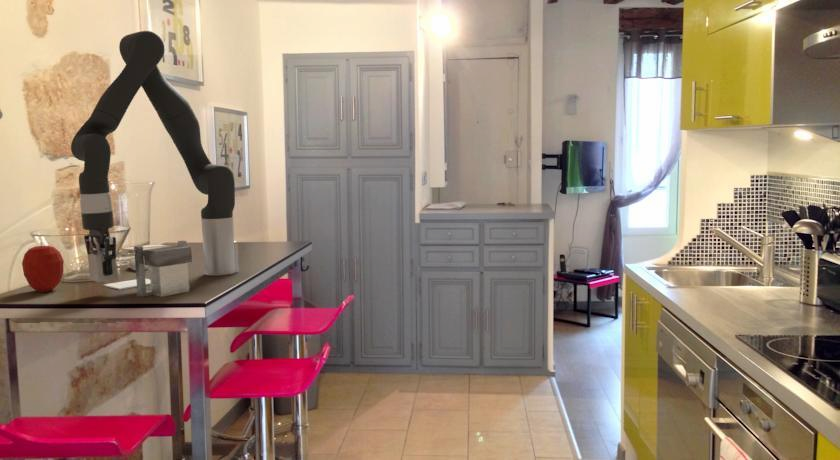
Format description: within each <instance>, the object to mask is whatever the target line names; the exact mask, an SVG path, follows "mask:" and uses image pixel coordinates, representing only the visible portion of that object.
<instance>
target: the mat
mask: <svg viewBox="0 0 840 460" xmlns="http://www.w3.org/2000/svg"><path fill="white" fill-rule="evenodd" d="M145 283H146V286H151V281H150V279H149V278H145ZM102 286H104V287H106V288H110V289H115V290H117V291H118V290H119V291H121V290H126V289H127V290H128V289H133V288H137V280H136V278H135V279H131V280H124V281H118V282H112V283H106V284H103V285H102Z"/></svg>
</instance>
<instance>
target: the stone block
mask: <svg viewBox="0 0 840 460" xmlns="http://www.w3.org/2000/svg"><path fill="white" fill-rule="evenodd" d="M111 253H112V251H111ZM87 260H88V261H87V262H88V269H89V272H88V273H89V279H90V281H93V282H97V283H102V282H107V281H112V280H118V271H117V262H116V260H117V258H115V259H113V260H112V270H113V274H112V275H108V276H105V275H103V266H102V259H101V255H100V254H99V253H92V254H87Z"/></svg>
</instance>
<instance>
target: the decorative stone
mask: <svg viewBox="0 0 840 460" xmlns="http://www.w3.org/2000/svg"><path fill="white" fill-rule="evenodd" d="M128 266H129V268H130V269H131V270H132V271H134V272H136V267H135V257H134V258H131V260H130V261H129V262H128ZM144 269H145V271H146V270H148V269H150V267H149V266H148V265H145V264H144Z"/></svg>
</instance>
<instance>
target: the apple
mask: <svg viewBox="0 0 840 460" xmlns="http://www.w3.org/2000/svg"><path fill="white" fill-rule="evenodd" d="M21 264H22V265H21V266H22V271H23V277H25V279H26V281H27V284H28V286H29V287H31V289H33V290H34V291H36V292H39V293H47V292H51V291H53V290H54V289H55V288H56V287H57V286H59V285H60V283H61V280H62V277H63V275H64V258H63V256H62V254H61V251H59V250H58V249H57V248H56V247H54V246H52V245H42V243H40V245H39V246H38V245H37V246H33V247H31V248H28V250H27V251H25V253H24V255H23V258H22V261H21Z"/></svg>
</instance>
